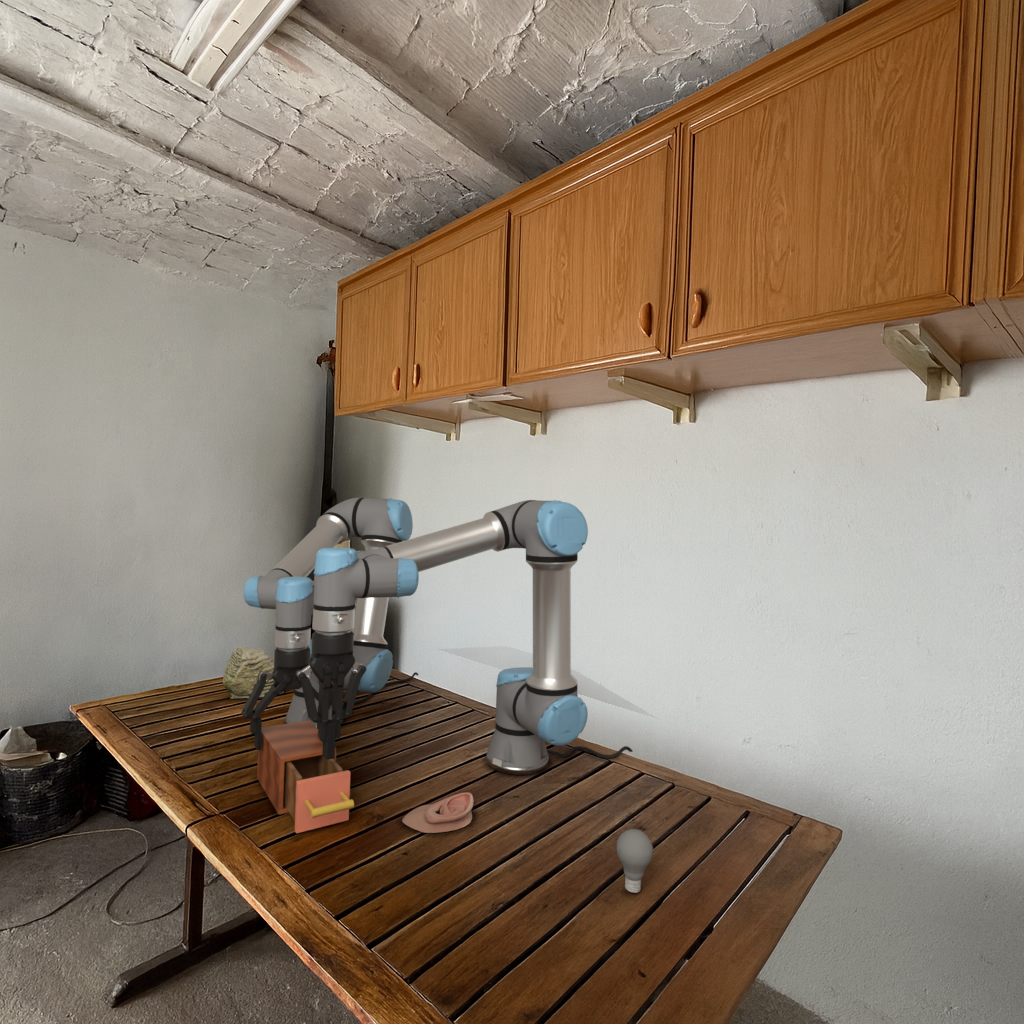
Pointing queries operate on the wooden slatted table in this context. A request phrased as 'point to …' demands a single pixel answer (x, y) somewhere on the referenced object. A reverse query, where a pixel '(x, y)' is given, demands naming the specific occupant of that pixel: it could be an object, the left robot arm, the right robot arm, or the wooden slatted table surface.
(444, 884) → the wooden slatted table surface
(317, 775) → the drawer
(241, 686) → the fossil
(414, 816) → the anatomical model
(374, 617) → the left robot arm
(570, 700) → the right robot arm
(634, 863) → the light bulb
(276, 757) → the cabinet
